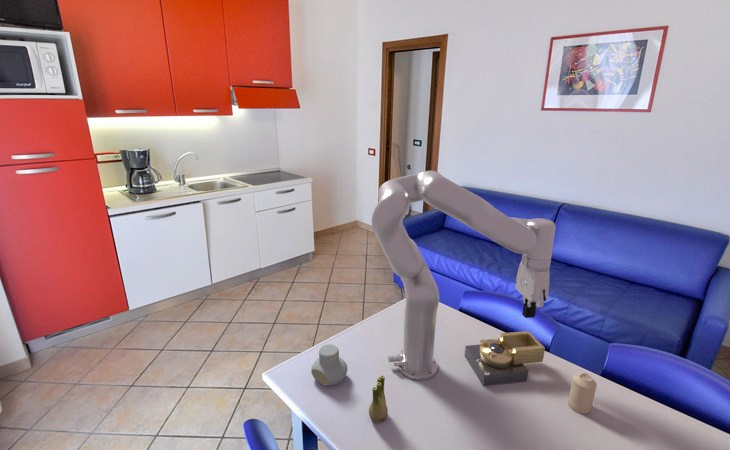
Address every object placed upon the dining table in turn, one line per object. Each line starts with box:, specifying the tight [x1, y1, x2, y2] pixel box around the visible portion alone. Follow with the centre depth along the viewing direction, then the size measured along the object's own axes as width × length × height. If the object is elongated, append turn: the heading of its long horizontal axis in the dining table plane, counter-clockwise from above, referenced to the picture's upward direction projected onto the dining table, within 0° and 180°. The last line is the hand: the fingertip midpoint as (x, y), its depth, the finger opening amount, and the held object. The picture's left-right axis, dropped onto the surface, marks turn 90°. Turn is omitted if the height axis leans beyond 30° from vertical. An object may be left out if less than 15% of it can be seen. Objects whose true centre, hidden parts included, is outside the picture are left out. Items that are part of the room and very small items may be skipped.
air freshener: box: [311, 343, 348, 386], centre depth 111 cm, size 11×8×10 cm
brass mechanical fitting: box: [479, 330, 546, 368], centre depth 115 cm, size 18×10×5 cm, turn 98°
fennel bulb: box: [368, 375, 388, 423], centre depth 96 cm, size 6×5×12 cm
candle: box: [567, 372, 598, 415], centre depth 100 cm, size 6×6×10 cm
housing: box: [464, 344, 529, 387], centre depth 116 cm, size 14×14×4 cm
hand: (528, 316), depth 112 cm, fingers closed
